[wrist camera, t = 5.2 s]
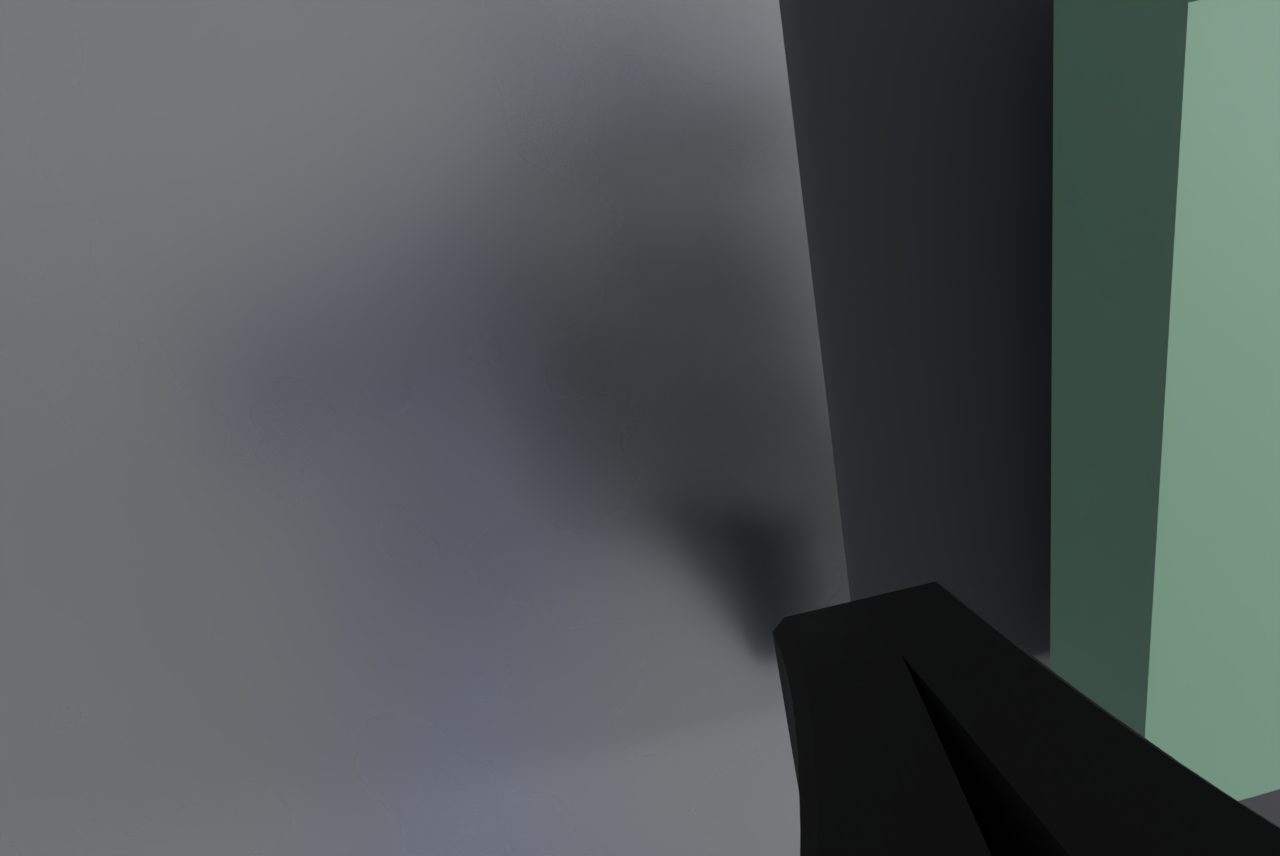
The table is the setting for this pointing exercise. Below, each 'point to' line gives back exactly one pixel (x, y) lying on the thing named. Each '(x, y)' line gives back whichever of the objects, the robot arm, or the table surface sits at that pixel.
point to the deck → (404, 428)
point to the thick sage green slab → (1169, 375)
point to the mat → (936, 292)
